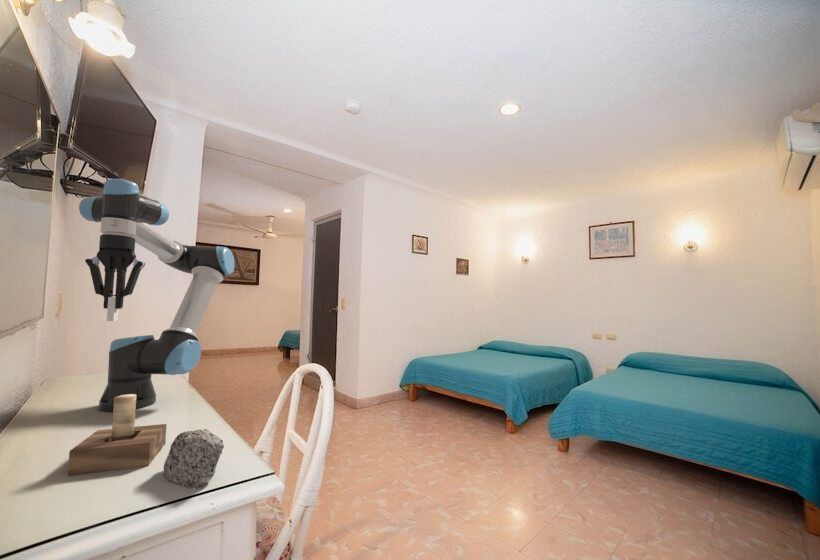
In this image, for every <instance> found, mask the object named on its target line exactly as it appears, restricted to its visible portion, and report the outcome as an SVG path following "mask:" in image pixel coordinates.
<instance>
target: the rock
mask: <svg viewBox="0 0 820 560" xmlns="http://www.w3.org/2000/svg"><path fill="white" fill-rule="evenodd" d="M224 448H225V445H224V441H223V439H222V438H220V437H219V436H218V435H216V434H214V433H212V432H211V431H210V430H209V429H207V428H204V429H195V430H190V431H189V430H188V431H186V430H185V431H182V432H180V433H179V434H178V435H177V436H176V437H174V440H173V441H172V443H171V445H170V449H169V452H168V454H167V456H166V459H165V461H164V463H163V473H164V475H165V477H166V478H167V479H168V480H169V481H171V482H173V483H175V484H177V485H181V486H183V487H184V488H189V489H192V490H193V489H194V488H195V489H197V488H198V487H200V486H202V485H204V484H205V485H206V484H208V483H209V482H210V481H211V480H212V479H213V477H214V475H215V474H216V468H217V467H218V462H219V459H220V457H221V455H222V453H223V449H224Z"/></svg>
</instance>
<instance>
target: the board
mask: <svg viewBox="0 0 820 560" xmlns="http://www.w3.org/2000/svg"><path fill="white" fill-rule="evenodd" d="M167 426H168V425H167V423H160V424H152V425H150V424H149V425H137V426H134V438H133V439H129V440H120V441H111V435H112V428H104V429H97V430H95V431H94V432H93V433H91V435H89V436H88V437H86V438H85V439H84V440H82V441H81V442H79V443H78V444H76V446H74V447H73V448H72V449H70V450H69V454H68V467H67V476H76V475H83V474H91V473H99V472H108V471H115V470H116V471H117V470H124V469H131V468H133V469H134V468H140V467H149V466H150V464H152V462H153V461H154V460H155V459H156V457H157V455H158V454H159V453H160V452H161V450H162V449H163V448H164V446H165V445H166V438H167Z"/></svg>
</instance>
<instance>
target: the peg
mask: <svg viewBox="0 0 820 560" xmlns="http://www.w3.org/2000/svg"><path fill="white" fill-rule="evenodd" d="M135 421H136V395H135V394H127V395H120V396H117V397H115V398H114V409H113V411H112V427H111V429H112V435H111V441H120V440H129V439H133V438H134V427H135V425H136V424H135V423H136V422H135Z"/></svg>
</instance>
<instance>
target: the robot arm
mask: <svg viewBox="0 0 820 560" xmlns="http://www.w3.org/2000/svg"><path fill="white" fill-rule="evenodd" d="M103 184H104V185H103V190H102V196H87V197H84V198H83V199H81V200H80V202H79V205H78V210H79V213H80V216H81V217H82V218H84V220H87V221H88V222H95V223H100V233H101V234H100V236H99V245H98V246H99V248H98V249H99V250H98V251H97V253H96V256H93V257H91V258H86V259H85V260H84V261H85V264H86V265H87V266H88V267H89V271H90V275H91V279H92V284H93V288H94V293H95V294H96V295H100V296H102V297H103V309H106V311H107V312H106V313H107V314H106V322H117V321H119V309H123V307H124V298H125V297H126V296H131V295H132V294H134V293H133V292H134V289H135V287H136V284H137V281H138V278H139V276H140V273H141V271H142V269H143V268H144V267H145V266H146V262H144V261H141V260H139V259H138V258H137V256H136V253H135V250H136V248H135V247H136V244H137V245H139V246H141V247H143V248H144V249H146V250H147V251H148V252H149V251H150V252H151V253H152V254H154V255H155V256H157V259H158V260H159V261H160V262H162V263H163V264H165V265H167V266H168V267H171V268H172V269H175V270H177V271H180V272H182V273H187V274H190V275H192V278H191V281H190V284H189V285H188V288H187V290H186V292H185V294H184V296H183V298H182V300H181V303H180V305H179V307H178V309H177V312H176V313H175V316H174V318H173V320H172V322H171V325H170V326H169V328H167V329H165V330H163V331H162V332H161V334H160V336H159V338H158V339H155V337H154V336H155V335H154V334H147V335H146V334H145V335H139V336H130V337H121V338H116V339H114V340H112V341H111V343H110V347H109V351H108V366H107V367H108V368H107V369H108V370H107V371H108V372H107V383H106V386H105V388H104V390H103V393H102V395H101V397H100V399H99V401H98V410H99V411H102V412H113V409H114V398H115V397H117V396H120V395H127V394H135V395H136V409H141V408H144V407H147V406H150V405H153V404H155V403H156V401H157V393H156V391H155V387H154V385H153V381H152V375H169V376H176V375H187V374H188V373H189V372H191V371H192V370H193V369H195V368H196V366H197V365H198V363H199V361H200V359H201V357H202V346H201V343H200V342H199V341H200V340H199V337H198V335H197V334H198V331H199V328H200V327H201V324H202V321H203V320H204V316H205V314H206V311H207V309H208V307H209V304H210V302H211V299H212V298H213V294H214V292H215V290H216V287H217V285H218V284H220V283H222V282H223V281H224V278H225V276H229V275H232V274H233V273H234V270H235V257H234V254H233V253H232V251H231V249H229V248H228V247H227V246H219V245H217V246H210V245H209V246H203V245H186V244H182V243H181V242H179V241H177V240H172V239H170V238H168V236H166V235H165V234H163V233H162V232H161V231H159V230H158V229H156V228H155V227H153V226H163V225H164V224H165V223H166V222H168V220H169V216H170V211H169V208H168V206H167V205H165V204H164V203H161V202H160V201H158V200H155V199H151V198H149V197H147V196H144V195H142V194H140V190H139V188H140V187H139V186H138V184H137V183H136V182H134V181H131V180H127V179H121V178H108V179H106V180H105V181H104V183H103ZM100 263H101V264H102V265H103V266H104V281H103V278H102V277H103V276H102V273H101V268H100V266H99V265H100ZM131 265H132V266H133V267H132V269H131V272H130V274H129V277H128V280H127V282H126V277H127V270H128V268H129V267H130V266H131ZM115 274H116V277H115ZM115 278H116V281H115ZM114 282H115V283H114ZM114 285H115V287H114ZM114 288H115V291H114ZM114 292H115V294H114Z"/></svg>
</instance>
